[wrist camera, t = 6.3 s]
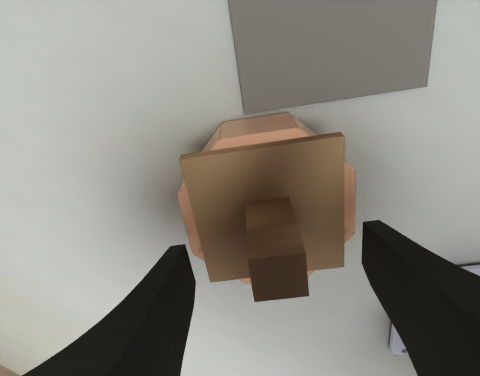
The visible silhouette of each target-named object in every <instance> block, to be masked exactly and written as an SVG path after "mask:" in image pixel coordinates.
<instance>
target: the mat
mask: <svg viewBox="0 0 480 376" xmlns="http://www.w3.org/2000/svg"><path fill="white" fill-rule="evenodd" d="M436 6H437V0H229V7H230V14H231V21H232V28H233V35H234V42H235V49H236V56H237V63H238V70H239V77H240V84H241V91H242V98H243V105H244V112H245V114H249V113H256V112H262V111H269V110H275V109H282V108H289V107H295V106H302V105H309V104H315V103H322V102H328V101H335V100H342V99H348V98H355V97H362V96H368V95H375V94H381V93H388V92H395V91H401V90H408V89H415V88H421V87H427V83H428V74H429V65H430V57H431V48H432V40H433V31H434V23H435V14H436Z"/></svg>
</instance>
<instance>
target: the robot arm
mask: <svg viewBox="0 0 480 376" xmlns="http://www.w3.org/2000/svg"><path fill="white" fill-rule="evenodd" d="M362 265H363V267H364V270H365V273H366V275H367V277H368V280H369V282H370V285H371V287H372V288H373V290H374V292H375V294H376V296H377V297H378V299H379V301H380V303H381V305H382V306H383V308H384V310H385V312H386V313H387V315H388V317H389V319H390V320H391V322H392V328H391V337H390V347H389V349H390V351H391V353H392V354H393V355H407V354H409V357H410V359H411V361H412V363H413V366H414V368H415V370H416V372H417V374H418V376H480V265H473V266H464V267H459V266H457V265H455V264H453V263H451V262H449V261H447V260H446V259H444V258H442V257H440V256H438V255H436V254H434V253H433V252H431V251H429V250H427V249H426V248H424V247H422V246H420V245H419V244H417V243H415V242H414V241H412V240H410V239H409V238H407V237H406V236H404V235H402V234H401V233H399V232H398V231H396V230H394V229H393V228H391V227H390V226H388V225H386V224H385V223H383V222H381V221H380V220H375V221H367V222H363V237H362ZM195 285H196V281H195V278H194V274H193V271H192V267H191V263H190V260H189V256H188V253H187V249H186V246H185V244H183V245H175V246H170V247H169V249H168V250H167V251H166V252H165V253H164V254H163V256H162V257H161V258H160V259H159V261H158V262H157V263H156V264H155V265H154V267H153V268H152V269H151V270H150V271H149V272H148V274H147V275H146V276H145V277H144V278H143V279H142V281H141V282H140V283H139V284H138V285H137V286H136V287H135V288H134V289H133V290H132V291H131V292H130V293H129V294H128V295H127V296H126V298H125V299H124V300H123V301H122V302H121V303H119V304H118V305H117V306H116V307H115V308H114V309H113V310H112V311H111V312H110V313H109V314H107V315H106V316H105V317H104V318H103V319H102V320H101V321H99V322H98V323H97V324H96V325H94V326H93V327H92V328H91V329H89V330H88V331H87V332H86V333H84V334H83V335H82V336H81V337H79V338H78V339H77V340H75V341H74V342H73V343H71V344H70V345H68V346H67V347H66V348H64V349H63V350H61V351H60V352H58V353H57V354H55V355H54V356H52V357H51V358H50V359H48V360H46V361H45V362H43V363H42V364H40V365H39V366H37V367H35V368H34V369H32V370H30V371H29V372H27V373H25V374H24V375H22V376H180V374H181V367H182V361H183V355H184V351H185V346H186V341H187V336H188V332H189V327H190V322H191V317H192V312H193V307H194V298H195Z"/></svg>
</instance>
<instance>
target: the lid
mask: <svg viewBox="0 0 480 376" xmlns="http://www.w3.org/2000/svg"><path fill="white" fill-rule="evenodd" d="M179 161H180V165H181V169H182V173H183V177H184V181H185V185H186V189H187V193H188V197H189V201H190V204H191V208H192V212H193V216H194V220H195V224H196V228H197V232H198V236H199V240H200V244H201V248H202V252H203V255H204V259H205V263H206V267H207V271H208V275H209V279H210V282H218V281H226V280H235V279H244V278H250V279H251V284H252V290H253V296H254V301H255V302H259V301H268V300H277V299H286V298H295V297H304V296H309V290H308V276H307V271H313V270H321V269H330V268H339V267H344V135H343V134H342V133H341V132H337V133H330V134H323V135H316V136H309V137H302V138H295V139H288V140H281V141H274V142H267V143H260V144H253V145H246V146H239V147H232V148H226V149H219V150H212V151H205V152H198V153H191V154H184V155H181V157H180V159H179Z"/></svg>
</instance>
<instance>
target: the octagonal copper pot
mask: <svg viewBox="0 0 480 376" xmlns="http://www.w3.org/2000/svg"><path fill="white" fill-rule="evenodd" d="M316 135H317V134H316V133H314V132H313V131H312V130H311V129H309V128H308V127H307V126H306V125H304V124H303V123H302V122H300V121H299V120H298V119H297V118H295V117H294V116H293V115H292V114H290V113H288V112H286V113H279V114H272V115H266V116H259V117H252V118H246V119H239V120H232V121H226V122H223V123H221V124H220V126H219V127H218V128H217V130H216V131H215V133H214V134H213V135H212V137H211V138H210V140H209V141H208V142H207V144H206V145H205V147H204V148H203V149H202V151H201V152H205V151H212V150H219V149H226V148H232V147H239V146H246V145H253V144H260V143H267V142H274V141H281V140H288V139H295V138H302V137H309V136H316ZM355 185H356V172H355V171H354V170H353V168H352V167H351V166H350V165H349V164H348V163H347V161H346V160H345V159H344V243H345V242H346V241H348V240H349V239H350V238H351V237H352V236H353V235H354V234H355ZM177 198H178V202H179V205H180V209H181V213H182V216H183V220H184V224H185V227H186V231H187V235H188V238H189V242H190V246H191V249H192V253H194V255H196V256H197V257H199V258H201V259H203V260H204V261H205V259H204V255H203V252H202V248H201V244H200V240H199V236H198V232H197V228H196V224H195V220H194V216H193V212H192V208H191V204H190V201H189V197H188V193H187V189H186V185H185V181H184V180H183V183H182V185H181V188H180V190H179V193H178V195H177ZM314 271H315V270H313V271H307V276H309V275H310V274H312V273H313V272H314ZM238 280H240V281H242V282H244V283H246V284H247V283H251V279H250V278H244V279H238Z"/></svg>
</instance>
